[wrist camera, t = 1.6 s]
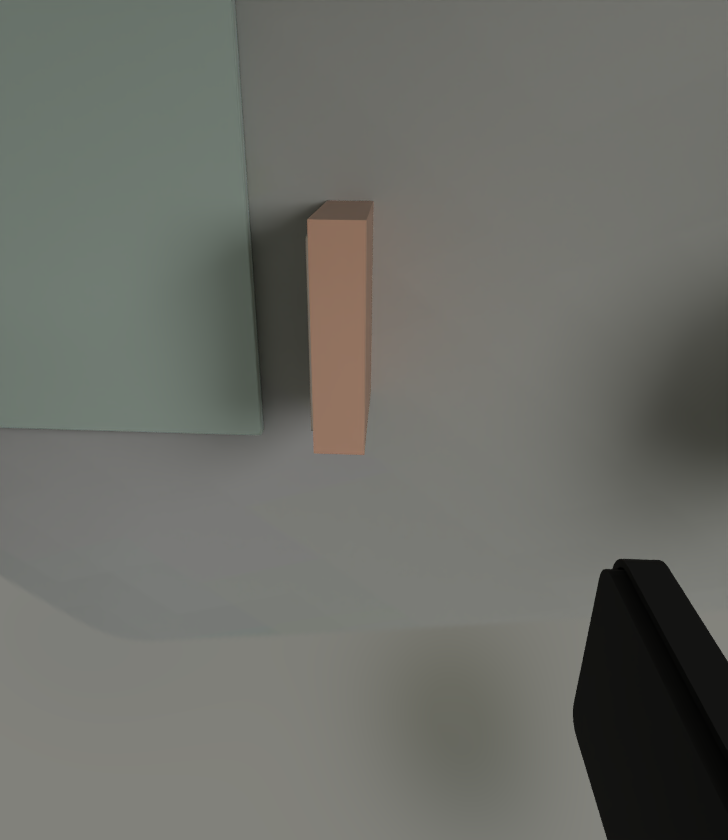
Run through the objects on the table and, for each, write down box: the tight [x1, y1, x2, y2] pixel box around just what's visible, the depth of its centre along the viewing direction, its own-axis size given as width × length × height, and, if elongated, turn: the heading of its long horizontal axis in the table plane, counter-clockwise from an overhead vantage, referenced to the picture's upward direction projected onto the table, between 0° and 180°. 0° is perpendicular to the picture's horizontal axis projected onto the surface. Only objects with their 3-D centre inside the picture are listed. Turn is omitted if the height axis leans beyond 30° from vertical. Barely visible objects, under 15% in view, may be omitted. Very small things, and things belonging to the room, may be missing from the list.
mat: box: [0, 0, 264, 435], centre depth 24 cm, size 20×16×1 cm
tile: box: [305, 200, 373, 455], centre depth 23 cm, size 8×2×6 cm, turn 0°
